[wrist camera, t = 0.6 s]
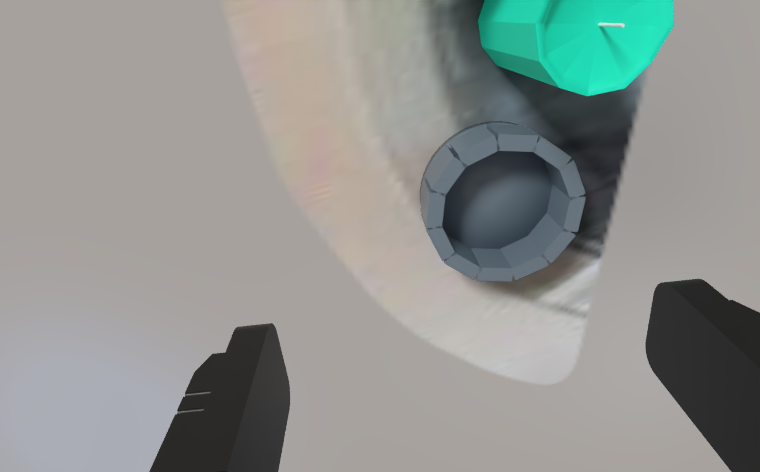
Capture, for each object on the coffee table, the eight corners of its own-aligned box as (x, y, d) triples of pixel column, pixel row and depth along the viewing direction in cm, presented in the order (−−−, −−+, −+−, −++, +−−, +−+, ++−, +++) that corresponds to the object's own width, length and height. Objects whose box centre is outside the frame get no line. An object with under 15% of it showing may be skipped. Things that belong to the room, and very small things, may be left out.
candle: (458, 39, 30) (517, 53, 19) (517, -56, 28) (618, -100, 17) (533, 90, 32) (626, 129, 21) (593, 3, 30) (731, -4, 19)
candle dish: (476, 92, 32) (492, 102, 28) (588, 170, 34) (616, 188, 31) (392, 213, 35) (397, 236, 31) (500, 276, 38) (516, 304, 34)
